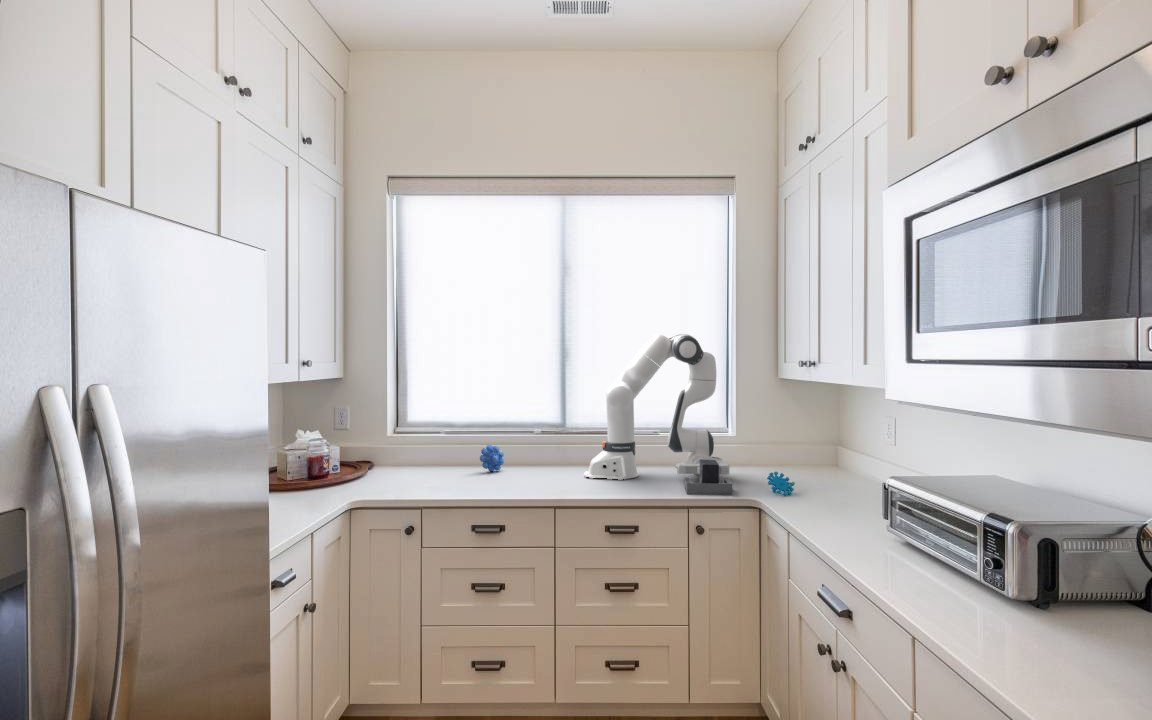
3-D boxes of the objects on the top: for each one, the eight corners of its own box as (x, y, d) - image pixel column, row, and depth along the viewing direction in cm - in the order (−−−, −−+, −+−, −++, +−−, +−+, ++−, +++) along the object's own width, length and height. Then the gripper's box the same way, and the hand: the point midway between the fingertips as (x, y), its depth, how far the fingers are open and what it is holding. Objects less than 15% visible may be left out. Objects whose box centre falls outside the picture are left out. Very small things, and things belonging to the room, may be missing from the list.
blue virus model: (774, 493, 207) (765, 469, 214) (766, 502, 211) (757, 478, 218) (801, 495, 210) (791, 471, 217) (792, 504, 214) (783, 480, 221)
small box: (720, 493, 214) (719, 464, 214) (701, 493, 215) (701, 464, 215) (716, 486, 225) (716, 459, 225) (698, 486, 226) (698, 459, 225)
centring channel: (687, 494, 213) (686, 483, 213) (684, 488, 223) (684, 477, 223) (732, 494, 212) (732, 483, 212) (727, 488, 222) (727, 478, 222)
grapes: (484, 475, 250) (484, 446, 250) (477, 472, 255) (477, 444, 255) (508, 472, 256) (508, 444, 256) (501, 469, 262) (501, 442, 262)
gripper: (674, 457, 240) (677, 463, 226) (725, 457, 238) (732, 464, 224) (674, 473, 240) (677, 480, 226) (726, 473, 238) (732, 480, 224)
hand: (705, 472), depth 225 cm, fingers closed, pressing on small box
